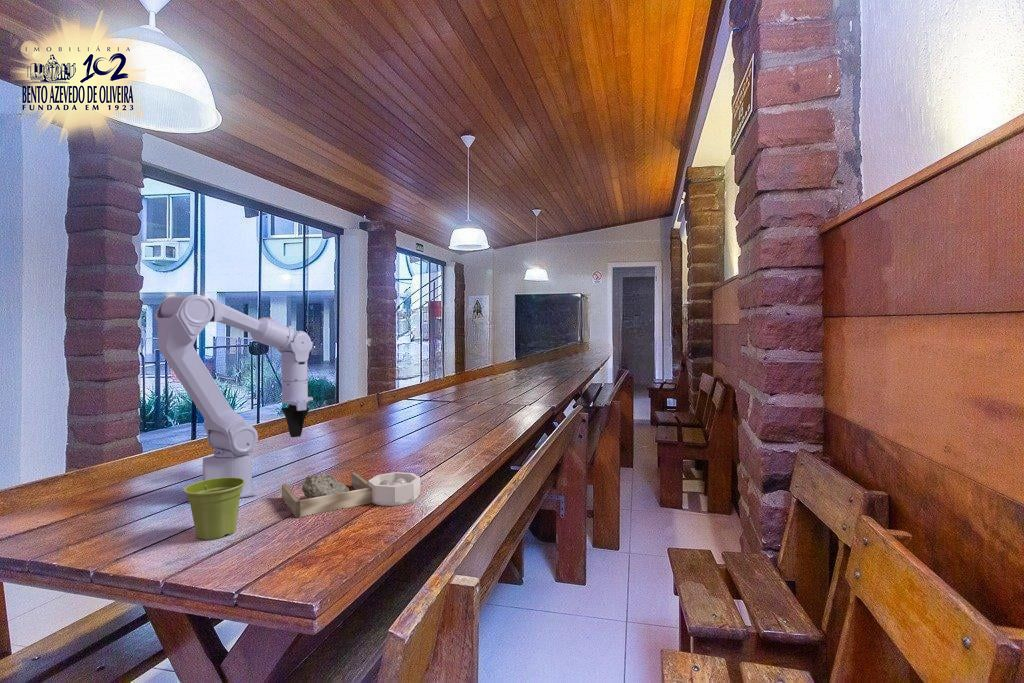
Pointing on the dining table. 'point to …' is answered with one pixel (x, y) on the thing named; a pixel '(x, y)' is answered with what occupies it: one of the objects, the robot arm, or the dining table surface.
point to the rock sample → (322, 486)
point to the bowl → (395, 489)
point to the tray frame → (329, 499)
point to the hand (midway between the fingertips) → (295, 436)
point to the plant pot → (215, 506)
